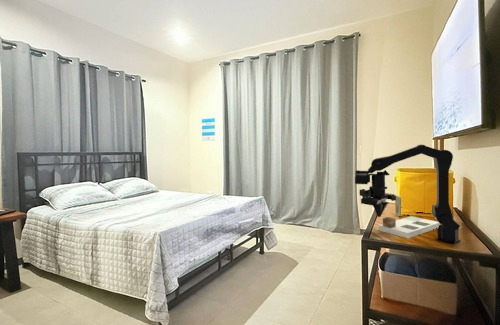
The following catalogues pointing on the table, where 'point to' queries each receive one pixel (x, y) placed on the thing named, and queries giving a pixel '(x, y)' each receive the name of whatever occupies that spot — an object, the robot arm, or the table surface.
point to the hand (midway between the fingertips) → (379, 216)
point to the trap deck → (410, 227)
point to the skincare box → (398, 205)
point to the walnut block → (389, 222)
